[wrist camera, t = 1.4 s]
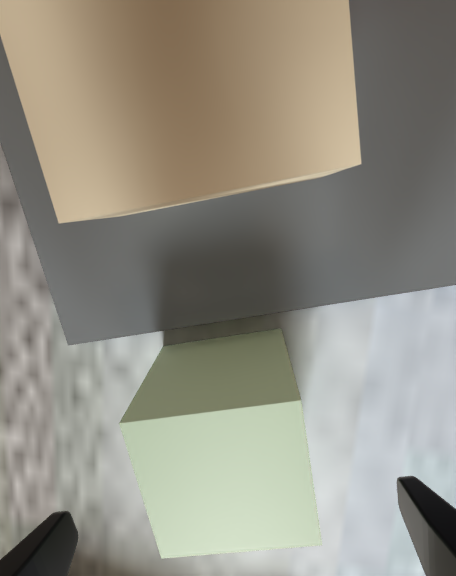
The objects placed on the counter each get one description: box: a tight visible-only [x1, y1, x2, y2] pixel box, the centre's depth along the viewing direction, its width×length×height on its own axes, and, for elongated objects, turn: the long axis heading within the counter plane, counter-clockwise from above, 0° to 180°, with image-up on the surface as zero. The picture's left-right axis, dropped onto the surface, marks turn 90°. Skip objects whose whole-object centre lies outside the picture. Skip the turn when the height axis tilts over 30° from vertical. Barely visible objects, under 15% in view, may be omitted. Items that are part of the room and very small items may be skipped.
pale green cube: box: [119, 329, 322, 559], centre depth 12 cm, size 5×5×5 cm
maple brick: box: [0, 0, 361, 223], centre depth 8 cm, size 7×7×4 cm
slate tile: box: [0, 0, 456, 345], centre depth 11 cm, size 16×16×1 cm
